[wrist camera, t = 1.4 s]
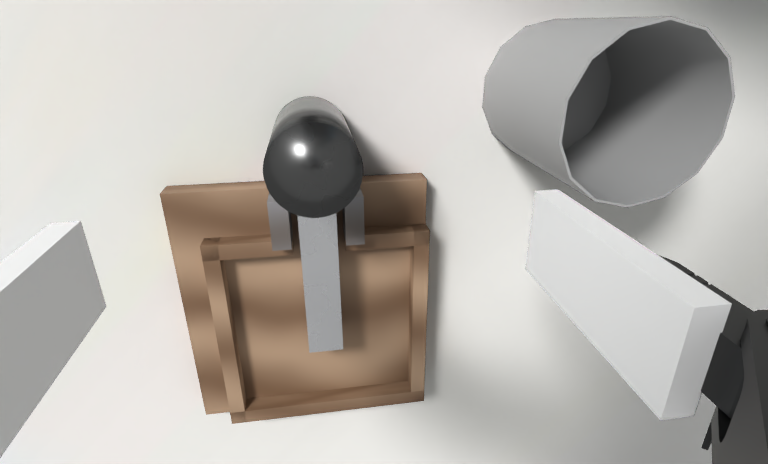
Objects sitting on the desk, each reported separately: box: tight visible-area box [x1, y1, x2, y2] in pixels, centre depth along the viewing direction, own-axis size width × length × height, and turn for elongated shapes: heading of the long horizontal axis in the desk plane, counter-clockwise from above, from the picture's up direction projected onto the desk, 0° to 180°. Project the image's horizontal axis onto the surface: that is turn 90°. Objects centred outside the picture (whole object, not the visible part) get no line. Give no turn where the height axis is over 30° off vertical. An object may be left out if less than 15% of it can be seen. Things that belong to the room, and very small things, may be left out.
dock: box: [160, 173, 430, 424], centre depth 32 cm, size 17×16×4 cm
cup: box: [482, 16, 735, 208], centre depth 26 cm, size 8×8×10 cm
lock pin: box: [263, 96, 363, 353], centre depth 27 cm, size 16×4×8 cm, turn 1°
